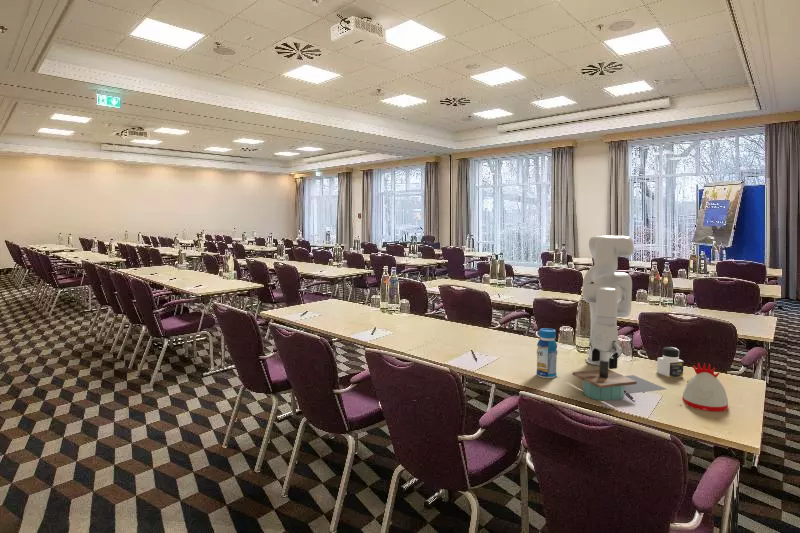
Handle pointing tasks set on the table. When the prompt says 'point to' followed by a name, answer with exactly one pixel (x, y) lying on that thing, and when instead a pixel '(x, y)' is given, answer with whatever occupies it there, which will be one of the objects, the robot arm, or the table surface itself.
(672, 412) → the table surface
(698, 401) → the kitchen timer
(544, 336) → the beverage bottle
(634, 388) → the mat
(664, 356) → the medicine bottle
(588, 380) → the lid
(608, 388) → the bowl
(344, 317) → the table surface
